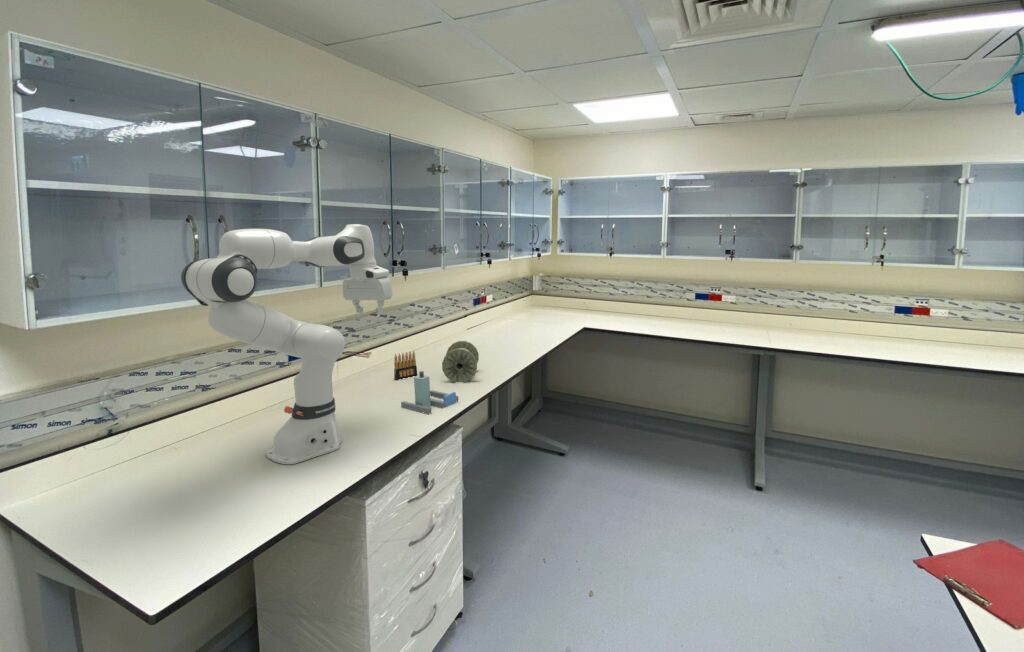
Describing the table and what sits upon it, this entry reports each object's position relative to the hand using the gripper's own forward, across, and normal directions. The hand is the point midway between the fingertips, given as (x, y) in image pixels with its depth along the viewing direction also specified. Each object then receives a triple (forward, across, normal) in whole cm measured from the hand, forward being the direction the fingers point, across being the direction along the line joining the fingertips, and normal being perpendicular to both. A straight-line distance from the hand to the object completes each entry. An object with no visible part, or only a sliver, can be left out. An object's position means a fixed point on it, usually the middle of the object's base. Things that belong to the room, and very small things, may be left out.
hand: (369, 312), depth 176 cm
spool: (+40, -7, +55) cm, 69 cm away
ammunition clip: (+39, -29, +43) cm, 64 cm away
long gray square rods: (+40, +4, +21) cm, 45 cm away
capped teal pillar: (+40, +4, +17) cm, 43 cm away
